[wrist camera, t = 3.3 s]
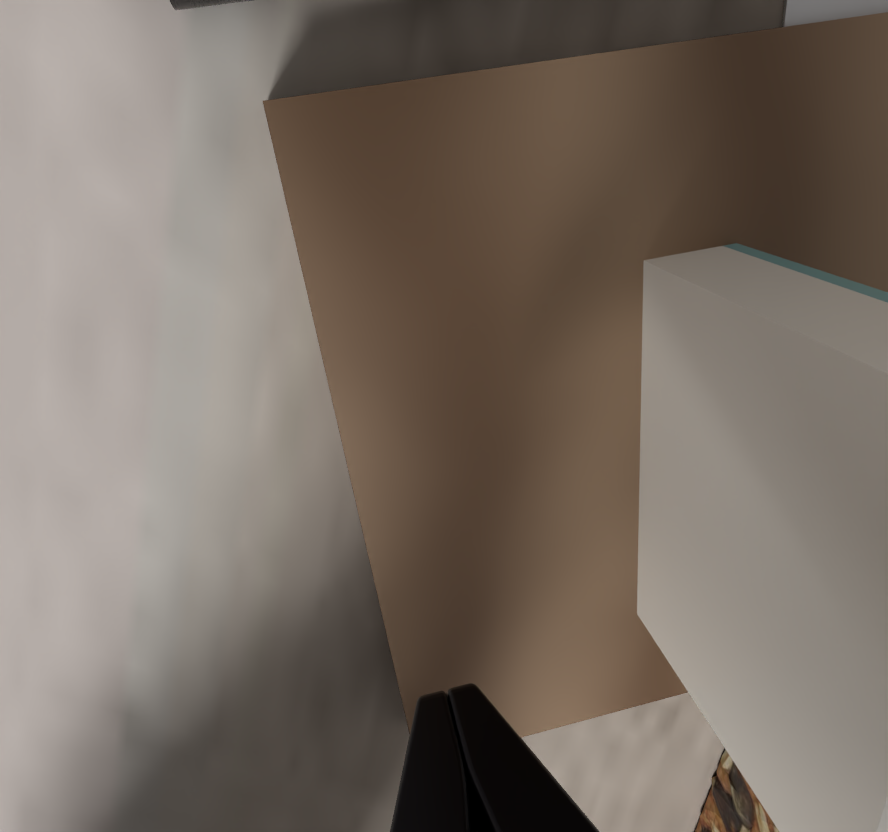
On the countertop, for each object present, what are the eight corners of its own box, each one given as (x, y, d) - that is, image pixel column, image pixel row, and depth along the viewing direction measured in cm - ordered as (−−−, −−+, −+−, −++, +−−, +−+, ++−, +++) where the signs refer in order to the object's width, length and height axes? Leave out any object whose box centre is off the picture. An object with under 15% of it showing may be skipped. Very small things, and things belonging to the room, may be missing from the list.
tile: (636, 613, 16) (844, 930, 10) (643, 260, 12) (1006, 429, 6) (706, 596, 16) (951, 895, 10) (736, 243, 12) (1181, 388, 6)
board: (410, 726, 18) (416, 765, 17) (266, 100, 11) (262, 100, 10) (911, 594, 20) (945, 622, 19) (1084, -15, 13) (1157, -27, 11)
